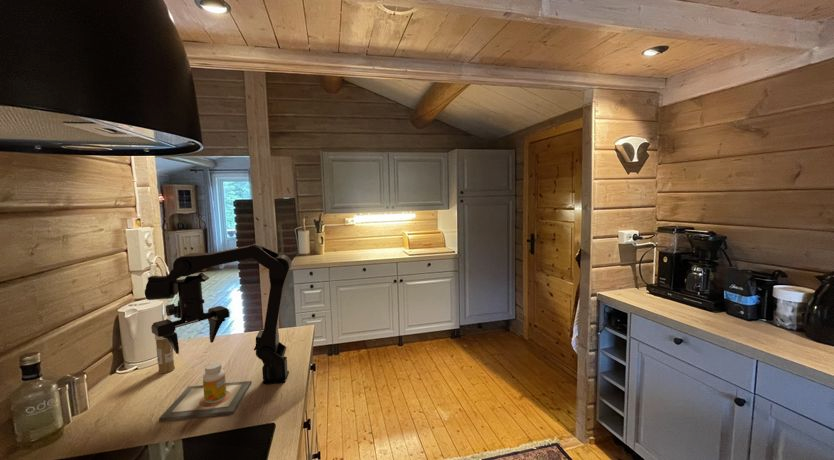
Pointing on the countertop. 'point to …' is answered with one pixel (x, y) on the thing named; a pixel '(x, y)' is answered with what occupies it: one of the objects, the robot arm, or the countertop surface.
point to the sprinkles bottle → (164, 355)
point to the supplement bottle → (214, 383)
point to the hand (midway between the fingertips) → (195, 347)
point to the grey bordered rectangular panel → (195, 405)
